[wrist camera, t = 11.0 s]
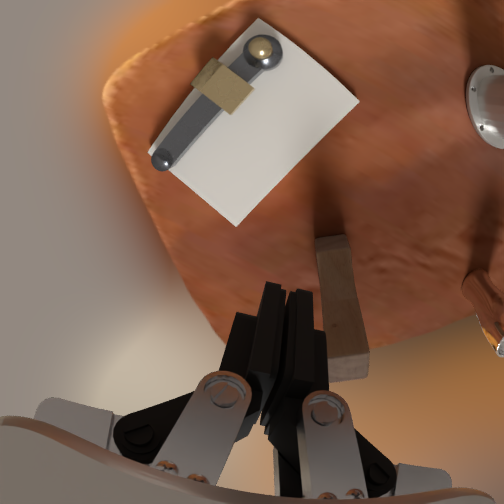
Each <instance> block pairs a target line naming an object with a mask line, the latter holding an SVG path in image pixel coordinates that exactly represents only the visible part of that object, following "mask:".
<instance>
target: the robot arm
mask: <svg viewBox="0 0 504 504" xmlns="http://www.w3.org/2000/svg"><path fill="white" fill-rule="evenodd" d="M466 104H467V110H468V113H469V117H470V119H471V122H472V124H473V126H474V128H475V130H476V131H477V133H478V134H479V135H480V137H481V138H482V139H483V140H484V141H485V142H486V143H488V144H490V145H491V146H494V147H497V148H501V149H504V70H503V69H501V68H499V67H497V66H494V65H484V66H480V67H478V68H477V69H475V70H474V71H473V72H472V74H471V76H470V77H469V80H468V83H467V88H466ZM285 299H286V290H284V289H281V285H280V284H276V283H272V282H267V281H266V284H265V288H264V291H263V295H262V299H261V303H260V306H259V310H258V314H257V317H256V316H252V315H248V314H244V313H239V312H236V315H235V319H234V322H233V325H232V329H231V332H230V335H229V338H228V342H227V345H226V348H225V352H224V355H223V358H222V362H221V365H220V368H219V371H216V372H211V373H209V374H208V375H206V376H204V378H203V379H202V380H201V381H200V382H199V384H198V386H197V388H196V390H195V391H193V392H191V393H188V394H186V395H183V396H180V397H177V398H175V399H172V400H169V401H166V402H164V403H161V404H158V405H155V406H152V407H149V408H146V409H143V410H140V411H137V412H134V413H130V414H128V415H126V416H120V415H115V414H113V412H112V411H108V410H103V409H98V408H94V407H90V406H86V405H82V404H78V403H75V402H71V401H67V400H64V399H60V398H54V397H51V398H48V399H45V400H44V401H42V402H41V403H40V405H39V406H38V408H37V411H36V413H35V416H34V419H32V418H27V417H21V416H2V417H0V504H496V502H495V500H494V499H493V498H492V497H491V496H490V495H489V494H487V493H485V492H483V491H480V490H477V489H473V488H462V487H461V488H460V487H459V488H452V481H451V477H450V475H449V474H448V473H447V472H446V471H444V470H442V469H435V468H428V467H421V466H414V465H407V464H402V463H399V464H398V465H394V464H393V463H392V462H391V461H390V460H389V459H388V458H387V457H386V456H384V455H383V454H382V453H381V452H380V451H379V450H378V449H376V448H375V447H374V446H373V445H372V444H371V443H370V442H368V440H367V439H365V438H364V437H363V436H362V435H361V434H360V433H359V432H358V431H357V430H356V429H355V428H354V426H353V422H352V417H351V413H350V409H349V407H348V404H347V403H346V401H345V400H344V399H343V398H342V397H341V396H339V395H338V394H336V393H334V392H331V391H329V376H328V356H327V340H326V333H325V331H320V330H315V329H314V317H313V293H312V292H310V291H306V290H302V289H297V290H296V292H292V291H290V293H289V296H288V299H287V302H286V305H285ZM261 411H262V413H261ZM260 413H261V419H260V425H262V426H265V431H264V434H266V435H268V440H269V441H270V442H271V443H272V445H273V446H274V449H273V458H274V459H273V460H274V485H275V496H271V495H264V494H256V493H250V492H244V491H238V490H233V489H228V488H223V487H219V486H216V484H217V481H218V479H219V477H220V474H221V472H222V470H223V468H224V466H225V463H226V461H227V459H228V456H229V454H230V452H231V449H232V447H233V444H234V443H235V442H237V441H239V440H241V439H242V438H244V437H246V436H248V434H249V432H250V431H251V428H252V426H253V424H256V422H257V420H258V418H259V416H260Z"/></svg>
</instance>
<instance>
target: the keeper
mask: <svg viewBox="0 0 504 504" xmlns="http://www.w3.org/2000/svg"><path fill="white" fill-rule="evenodd" d="M248 49H249V52H250V53H251V54H252V56H253V57H254V58H256V59H257V60H267V59H269V58H270V57H271V56H272V54H273V48H272V45H271V43H270V41H269V40H267V39H266V38H262V37H258V38H255V39H253V40H252V41H251V42H250V43H249V46H248ZM190 84H191V85H192V86H193V87H195V88H196V89H197V90H199V91H200V92H201V93H203V94H204V95H205V96H207V97H208V98H209V99H210V100H212V101H213V102H214V103H216V104H217V105H218V106H219V107H221V108H222V109H223V110H224V111H226V112H227V113H228V114H229V115H233V113H234V112H235V111H236V110H237V109H238V108H239V107H240V105H241V104H242V103H243V102H244V101H245V100H246V99H247V98H248V96H249V95H250V94H251V93H252V92H253V91H254V90H255V88H254V87H252V86H251V85H250V84H249V83H247V82H246V81H245V80H243V79H242V78H241V77H239V76H238V75H237V74H236V73H234V72H233V71H231V70H230V69H229V68H228V67H227V66H226V65H224V64H223V63H222V62H220V61H218V60H217V59H215V58H213V57H212V58H211V59H210V61H209V62H208V63H207V64H206V65H205V66H204V68H203V69H202V70H201V71H200V72H199V74H198V75H197V76H196V77H195V79H194V80H193V81H192V82H191V83H190Z"/></svg>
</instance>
